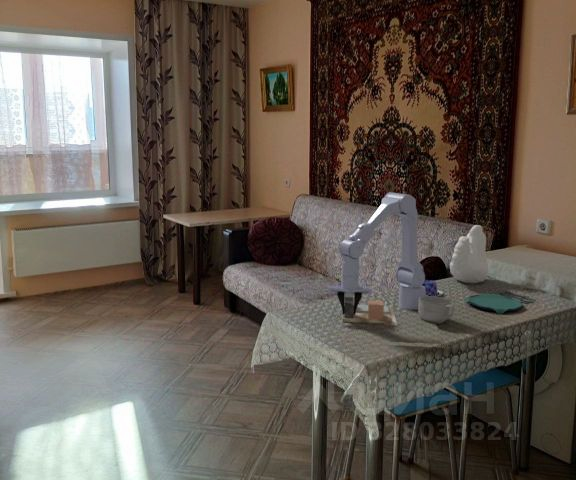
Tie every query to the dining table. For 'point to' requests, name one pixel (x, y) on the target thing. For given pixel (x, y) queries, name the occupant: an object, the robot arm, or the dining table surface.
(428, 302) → the teacup
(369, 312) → the terracotta cube
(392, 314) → the lane board
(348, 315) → the tan shallow tray
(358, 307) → the grey strip
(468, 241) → the decorative rooster
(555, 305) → the dining table surface
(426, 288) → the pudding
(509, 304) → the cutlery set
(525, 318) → the dining table surface
